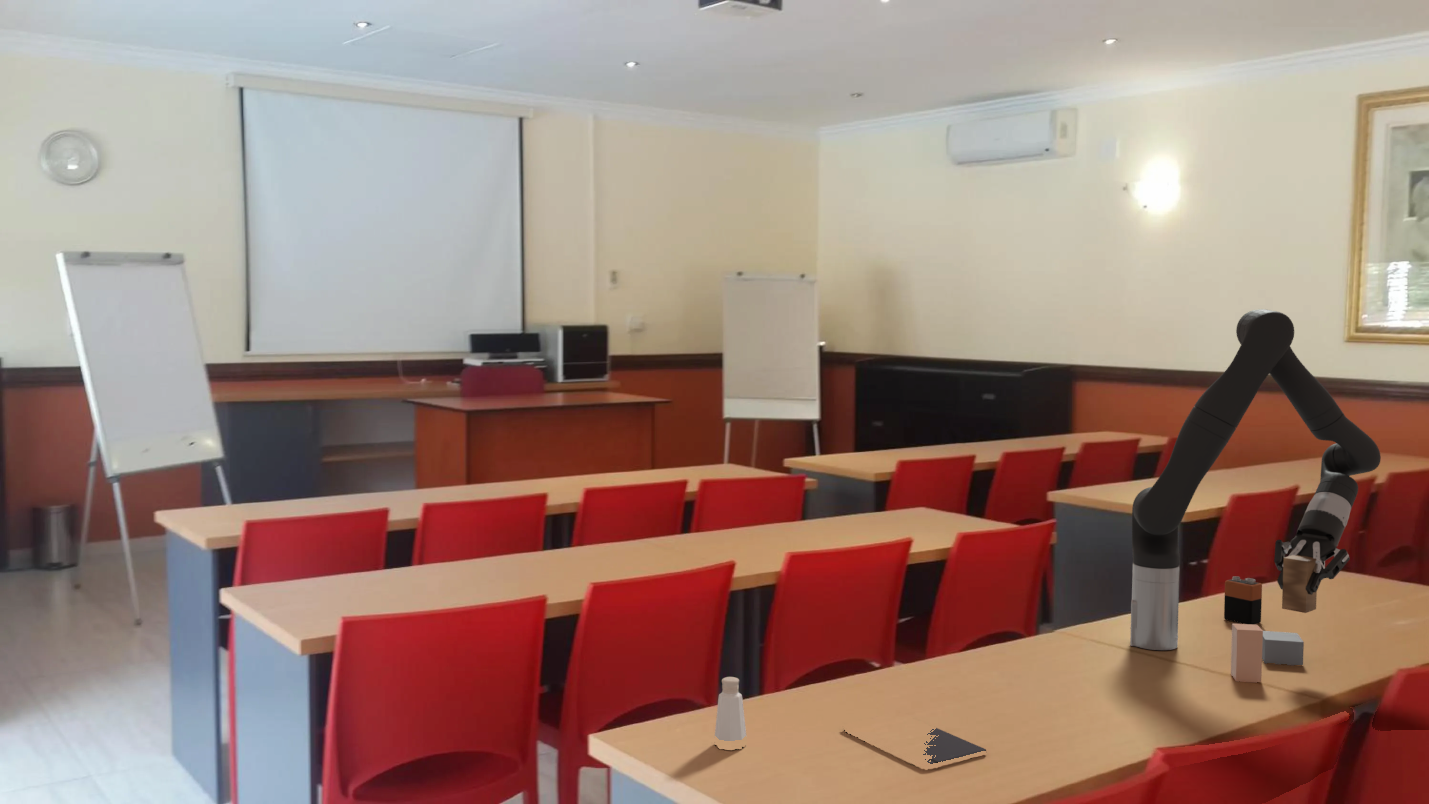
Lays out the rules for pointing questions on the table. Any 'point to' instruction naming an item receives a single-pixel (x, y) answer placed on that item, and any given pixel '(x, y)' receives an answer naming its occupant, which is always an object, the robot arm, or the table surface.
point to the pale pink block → (1246, 652)
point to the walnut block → (1298, 584)
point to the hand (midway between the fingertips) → (1295, 589)
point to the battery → (1243, 600)
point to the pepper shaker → (730, 712)
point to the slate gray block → (1282, 648)
